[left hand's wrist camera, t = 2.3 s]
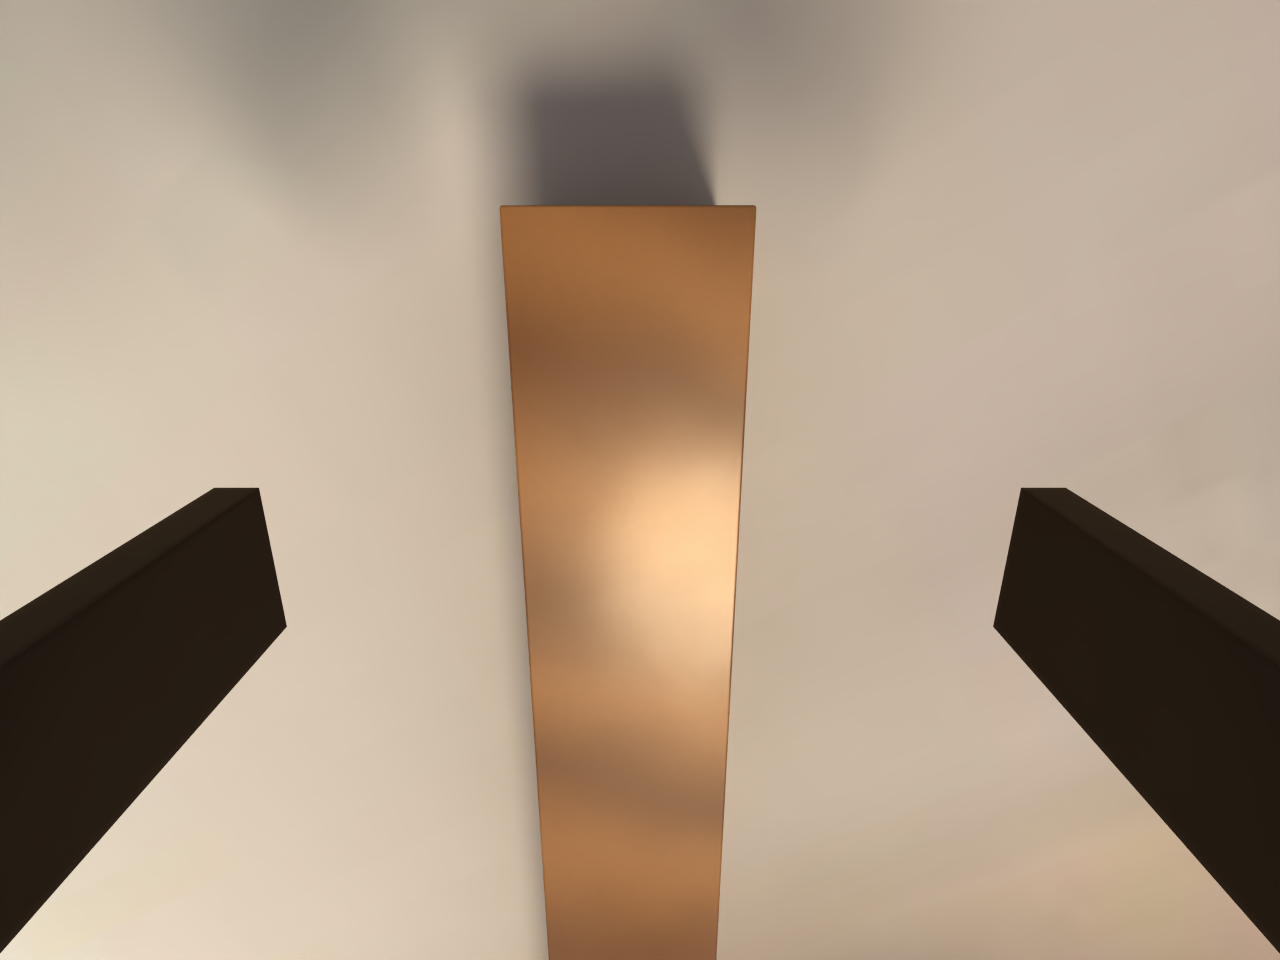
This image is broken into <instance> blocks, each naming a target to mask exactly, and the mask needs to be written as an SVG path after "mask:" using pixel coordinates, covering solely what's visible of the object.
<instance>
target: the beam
mask: <svg viewBox="0 0 1280 960" xmlns="http://www.w3.org/2000/svg"><path fill="white" fill-rule="evenodd" d="M500 221H501V236H502V252H503V267H504V282H505V297H506V313H507V328H508V343H509V358H510V374H511V389H512V404H513V419H514V435H515V450H516V465H517V480H518V496H519V511H520V526H521V541H522V557H523V572H524V587H525V602H526V618H527V633H528V648H529V663H530V679H531V694H532V709H533V724H534V739H535V755H536V770H537V785H538V800H539V816H540V831H541V846H542V861H543V877H544V892H545V907H546V922H547V938H548V953H549V960H716V952H717V933H718V915H719V896H720V877H721V858H722V840H723V821H724V802H725V784H726V765H727V746H728V728H729V709H730V690H731V671H732V653H733V634H734V615H735V597H736V578H737V559H738V540H739V522H740V503H741V484H742V466H743V447H744V428H745V409H746V391H747V372H748V353H749V335H750V316H751V297H752V279H753V260H754V241H755V222H756V206H754V205H502V206H500Z"/></svg>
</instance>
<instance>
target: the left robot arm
mask: <svg viewBox="0 0 1280 960" xmlns="http://www.w3.org/2000/svg"><path fill="white" fill-rule="evenodd" d="M286 627H287V625H286V620H285V615H284V610H283V605H282V601H281V596H280V591H279V586H278V581H277V576H276V571H275V566H274V561H273V556H272V551H271V546H270V541H269V536H268V531H267V526H266V521H265V516H264V511H263V506H262V501H261V496H260V491H259V488H213V489H212V490H210V491H208V492H207V493H205V494H204V495H202V496H200V497H199V498H197V499H196V500H194V501H192V502H191V503H189V504H188V505H186V506H184V507H183V508H181V509H179V510H178V511H176V512H175V513H173V514H171V515H170V516H168V517H167V518H165V519H163V520H162V521H160V522H159V523H157V524H155V525H154V526H152V527H150V528H149V529H147V530H146V531H144V532H142V533H141V534H139V535H138V536H136V537H134V538H133V539H131V540H130V541H128V542H126V543H125V544H123V545H121V546H120V547H118V548H117V549H115V550H113V551H112V552H110V553H109V554H107V555H105V556H104V557H102V558H101V559H99V560H97V561H96V562H94V563H92V564H91V565H89V566H88V567H86V568H84V569H83V570H81V571H80V572H78V573H76V574H75V575H73V576H71V577H70V578H68V579H67V580H65V581H63V582H62V583H60V584H59V585H57V586H55V587H54V588H52V589H51V590H49V591H47V592H46V593H44V594H42V595H41V596H39V597H38V598H36V599H34V600H33V601H31V602H30V603H28V604H26V605H25V606H23V607H22V608H20V609H18V610H17V611H15V612H13V613H12V614H10V615H9V616H7V617H5V618H4V619H2V620H1V621H0V953H1V952H2V951H3V950H4V948H5V947H6V946H7V945H8V944H9V943H10V942H11V940H12V939H13V938H14V937H15V936H16V935H17V934H18V932H19V931H20V930H21V929H22V928H23V927H24V926H25V925H26V923H27V922H28V921H29V920H30V919H31V918H32V917H33V915H34V914H35V913H36V912H37V911H38V910H39V909H40V907H41V906H42V905H43V904H44V903H45V902H46V901H47V899H48V898H49V897H50V896H51V895H52V894H53V893H54V891H55V890H56V889H57V888H58V887H59V886H60V885H61V883H62V882H63V881H64V880H65V879H66V878H67V877H68V875H69V874H70V873H71V872H72V871H73V870H74V869H75V867H76V866H77V865H78V864H79V863H80V862H81V861H82V860H83V858H84V857H85V856H86V855H87V854H88V853H89V852H90V850H91V849H92V848H93V847H94V846H95V845H96V844H97V842H98V841H99V840H100V839H101V838H102V837H103V836H104V834H105V833H106V832H107V831H108V830H109V829H110V828H111V826H112V825H113V824H114V823H115V822H116V821H117V820H118V818H119V817H120V816H121V815H122V814H123V813H124V812H125V810H126V809H127V808H128V807H129V806H130V805H131V804H132V803H133V801H134V800H135V799H136V798H137V797H138V796H139V795H140V793H141V792H142V791H143V790H144V789H145V788H146V787H147V785H148V784H149V783H150V782H151V781H152V780H153V779H154V777H155V776H156V775H157V774H158V773H159V772H160V771H161V769H162V768H163V767H164V766H165V765H166V764H167V763H168V761H169V760H170V759H171V758H172V757H173V756H174V755H175V753H176V752H177V751H178V750H179V749H180V748H181V747H182V745H183V744H184V743H185V742H186V741H187V740H188V739H189V738H190V736H191V735H192V734H193V733H194V732H195V731H196V730H197V728H198V727H199V726H200V725H201V724H202V723H203V722H204V720H205V719H206V718H207V717H208V716H209V715H210V714H211V712H212V711H213V710H214V709H215V708H216V707H217V706H218V704H219V703H220V702H221V701H222V700H223V699H224V698H225V696H226V695H227V694H228V693H229V692H230V691H231V690H232V688H233V687H234V686H235V685H236V684H237V683H238V682H239V680H240V679H241V678H242V677H243V676H244V675H245V674H246V673H247V671H248V670H249V669H250V668H251V667H252V666H253V665H254V663H255V662H256V661H257V660H258V659H259V658H260V657H261V655H262V654H263V653H264V652H265V651H266V650H267V649H268V647H269V646H270V645H271V644H272V643H273V642H274V641H275V639H276V638H277V637H278V636H279V635H280V634H281V633H282V631H283V630H284V629H285V628H286ZM993 627H994V628H995V629H996V630H997V631H998V633H999V634H1000V635H1001V636H1002V637H1003V638H1004V639H1005V641H1006V642H1007V643H1008V644H1009V645H1010V646H1011V647H1012V649H1013V650H1014V651H1015V652H1016V653H1017V654H1018V655H1019V657H1020V658H1021V659H1022V660H1023V661H1024V662H1025V663H1026V665H1027V666H1028V667H1029V668H1030V669H1031V670H1032V671H1033V673H1034V674H1035V675H1036V676H1037V677H1038V678H1039V679H1040V680H1041V682H1042V683H1043V684H1044V685H1045V686H1046V687H1047V688H1048V690H1049V691H1050V692H1051V693H1052V694H1053V695H1054V696H1055V698H1056V699H1057V700H1058V701H1059V702H1060V703H1061V704H1062V706H1063V707H1064V708H1065V709H1066V710H1067V711H1068V712H1069V714H1070V715H1071V716H1072V717H1073V718H1074V719H1075V720H1076V722H1077V723H1078V724H1079V725H1080V726H1081V727H1082V728H1083V730H1084V731H1085V732H1086V733H1087V734H1088V735H1089V736H1090V738H1091V739H1092V740H1093V741H1094V742H1095V743H1096V744H1097V745H1098V747H1099V748H1100V749H1101V750H1102V751H1103V752H1104V753H1105V755H1106V756H1107V757H1108V758H1109V759H1110V760H1111V761H1112V763H1113V764H1114V765H1115V766H1116V767H1117V768H1118V769H1119V771H1120V772H1121V773H1122V774H1123V775H1124V776H1125V777H1126V779H1127V780H1128V781H1129V782H1130V783H1131V784H1132V785H1133V787H1134V788H1135V789H1136V790H1137V791H1138V792H1139V793H1140V795H1141V796H1142V797H1143V798H1144V799H1145V800H1146V801H1147V802H1148V804H1149V805H1150V806H1151V807H1152V808H1153V809H1154V810H1155V812H1156V813H1157V814H1158V815H1159V816H1160V817H1161V818H1162V820H1163V821H1164V822H1165V823H1166V824H1167V825H1168V826H1169V828H1170V829H1171V830H1172V831H1173V832H1174V833H1175V834H1176V836H1177V837H1178V838H1179V839H1180V840H1181V841H1182V842H1183V844H1184V845H1185V846H1186V847H1187V848H1188V849H1189V850H1190V852H1191V853H1192V854H1193V855H1194V856H1195V857H1196V858H1197V860H1198V861H1199V862H1200V863H1201V864H1202V865H1203V866H1204V867H1205V869H1206V870H1207V871H1208V872H1209V873H1210V874H1211V875H1212V877H1213V878H1214V879H1215V880H1216V881H1217V882H1218V883H1219V885H1220V886H1221V887H1222V888H1223V889H1224V890H1225V891H1226V893H1227V894H1228V895H1229V896H1230V897H1231V898H1232V899H1233V901H1234V902H1235V903H1236V904H1237V905H1238V906H1239V907H1240V909H1241V910H1242V911H1243V912H1244V913H1245V914H1246V915H1247V917H1248V918H1249V919H1250V920H1251V921H1252V922H1253V923H1254V925H1255V926H1256V927H1257V928H1258V929H1259V930H1260V931H1261V932H1262V934H1263V935H1264V936H1265V937H1266V938H1267V939H1268V940H1269V942H1270V943H1271V944H1272V945H1273V946H1274V947H1275V948H1276V950H1277V951H1278V952H1279V953H1280V621H1279V620H1278V619H1276V618H1275V617H1273V616H1271V615H1270V614H1268V613H1267V612H1265V611H1263V610H1262V609H1260V608H1258V607H1257V606H1255V605H1254V604H1252V603H1250V602H1249V601H1247V600H1246V599H1244V598H1242V597H1241V596H1239V595H1238V594H1236V593H1234V592H1233V591H1231V590H1229V589H1228V588H1226V587H1225V586H1223V585H1221V584H1220V583H1218V582H1217V581H1215V580H1213V579H1212V578H1210V577H1209V576H1207V575H1205V574H1204V573H1202V572H1200V571H1199V570H1197V569H1196V568H1194V567H1192V566H1191V565H1189V564H1188V563H1186V562H1184V561H1183V560H1181V559H1179V558H1178V557H1176V556H1175V555H1173V554H1171V553H1170V552H1168V551H1167V550H1165V549H1163V548H1162V547H1160V546H1159V545H1157V544H1155V543H1154V542H1152V541H1150V540H1149V539H1147V538H1146V537H1144V536H1142V535H1141V534H1139V533H1138V532H1136V531H1134V530H1133V529H1131V528H1130V527H1128V526H1126V525H1125V524H1123V523H1121V522H1120V521H1118V520H1117V519H1115V518H1113V517H1112V516H1110V515H1109V514H1107V513H1105V512H1104V511H1102V510H1101V509H1099V508H1097V507H1096V506H1094V505H1092V504H1091V503H1089V502H1088V501H1086V500H1084V499H1083V498H1081V497H1080V496H1078V495H1076V494H1075V493H1073V492H1072V491H1070V490H1068V489H1067V488H1021V491H1020V496H1019V501H1018V506H1017V511H1016V516H1015V521H1014V526H1013V531H1012V536H1011V541H1010V546H1009V551H1008V556H1007V561H1006V566H1005V571H1004V576H1003V581H1002V586H1001V591H1000V596H999V601H998V605H997V610H996V615H995V620H994V625H993Z"/></svg>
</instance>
